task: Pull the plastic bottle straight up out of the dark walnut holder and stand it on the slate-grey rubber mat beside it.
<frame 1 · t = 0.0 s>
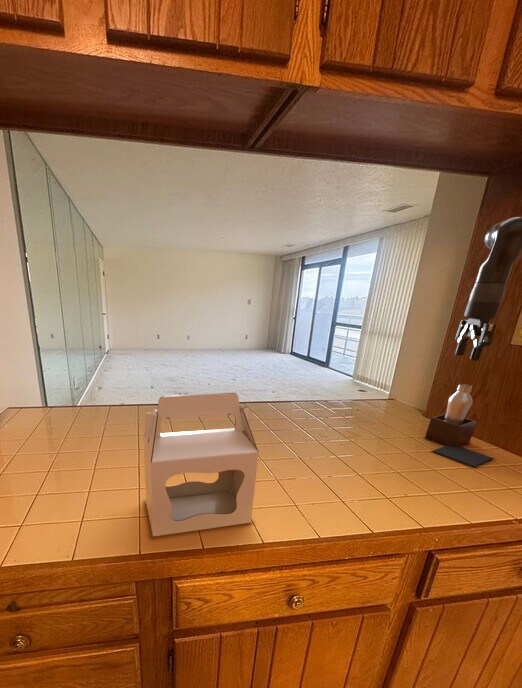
hand: (466, 357, 105), 30 cm above the worktop, tool pointing down, fingers open, 8 cm apart
mat: (462, 455, 111), on the worktop
gable box: (196, 512, 80), on the worktop
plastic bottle: (446, 440, 122), resting in holder
holder: (446, 440, 122), on the worktop
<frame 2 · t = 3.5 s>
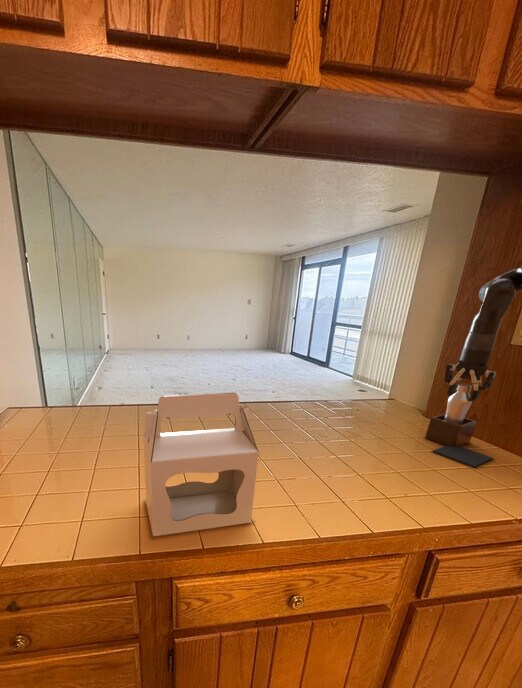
hand: (461, 398, 116), 16 cm above the worktop, tool pointing down, fingers closed on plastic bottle, 5 cm apart
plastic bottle: (446, 440, 122), resting in holder, touching gripper
everything else where it was.
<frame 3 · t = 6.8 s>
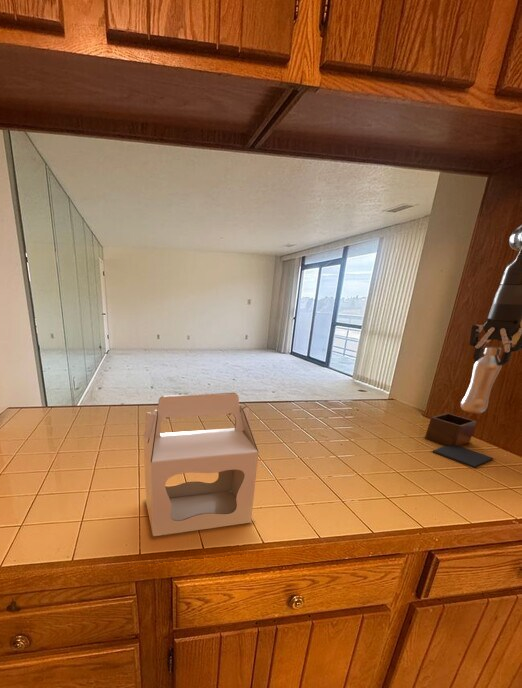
hand: (488, 362, 103), 29 cm above the worktop, tool pointing down, fingers closed on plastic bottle, 5 cm apart
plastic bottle: (471, 412, 109), point 13 cm above the worktop, touching gripper
everything else where it was.
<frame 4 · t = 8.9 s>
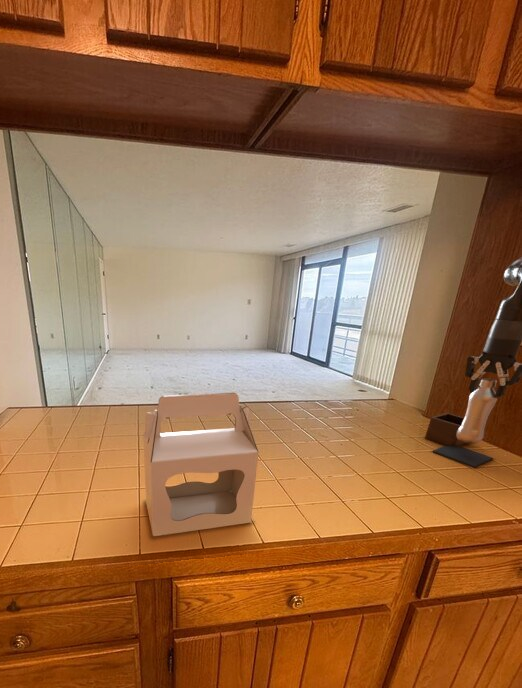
hand: (484, 394, 103), 20 cm above the worktop, tool pointing down, fingers closed on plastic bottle, 5 cm apart
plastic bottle: (466, 442, 109), point 5 cm above the worktop, touching gripper
everything else where it was.
when the fingers open (16 cm above the worktop, at t = 10.5 s): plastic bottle stays where it is, resting on mat.
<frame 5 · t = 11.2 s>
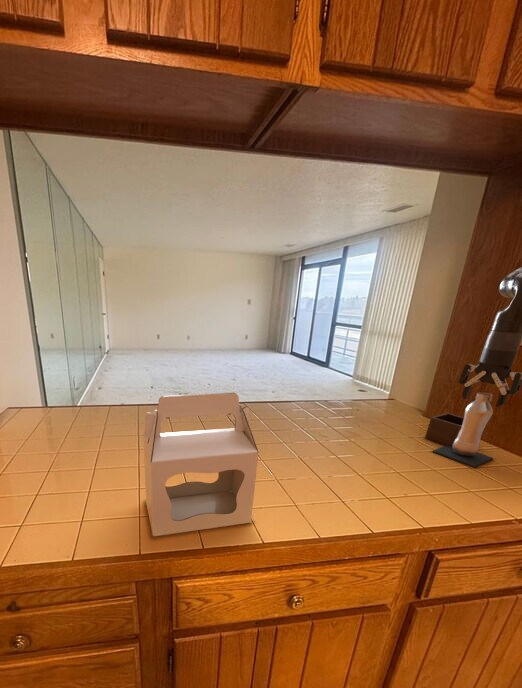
hand: (481, 402, 104), 18 cm above the worktop, tool pointing down, fingers open, 8 cm apart
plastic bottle: (462, 454, 111), resting on mat
everything else where it was.
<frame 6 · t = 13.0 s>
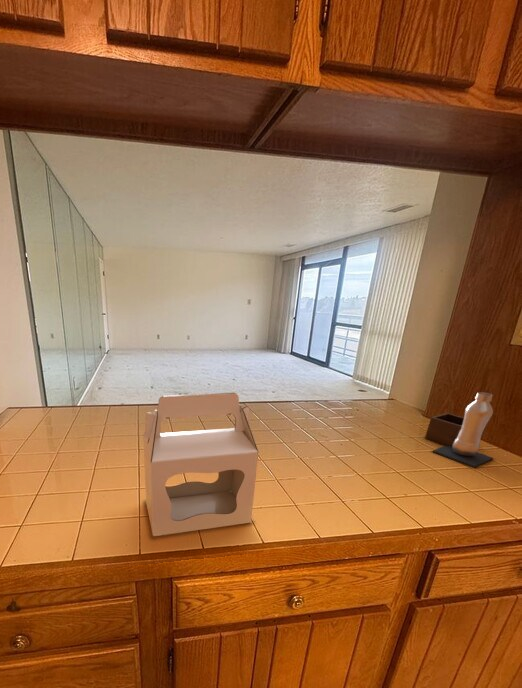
nothing on the worktop moved.
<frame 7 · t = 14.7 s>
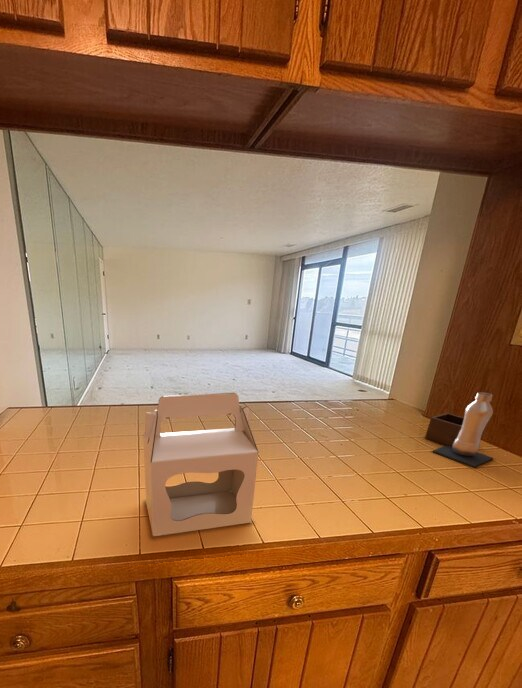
nothing on the worktop moved.
at the end: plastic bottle inside the target area on the mat (0.1 cm from its centre), point 0.4 cm above the mat's base; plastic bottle tilted 0°; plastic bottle touching mat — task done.
